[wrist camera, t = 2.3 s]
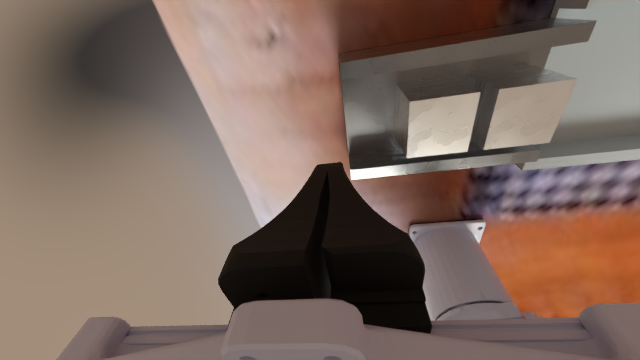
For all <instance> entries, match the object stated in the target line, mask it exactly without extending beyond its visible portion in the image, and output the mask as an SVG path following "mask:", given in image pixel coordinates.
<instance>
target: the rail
mask: <svg viewBox="0 0 640 360" xmlns="http://www.w3.org/2000/svg"><path fill="white" fill-rule="evenodd" d="M596 22H597V20H581V19H564V18H546V19H540V20H534V21H528V22H522V23H516V24H511V25H505V26H499V27H493V28H487V29H481V30H475V31H470V32H464V33H458V34H452V35H446V36H440V37H434V38H429V39H423V40H417V41H411V42H405V43H399V44H394V45H388V46H382V47H376V48H370V49H364V50H358V51H353V52H347V53H341V54H338V56H339V68H340V78H341V85H342V95H343V104H344V114H345V123H346V133H347V142H348V152H349V162H350V173H351V180H356V179H366V178H376V177H386V176H396V175H406V174H416V173H426V172H436V171H446V170H456V169H466V168H476V167H486V166H497V165H507V164H517V163H527V162H537V160H538V158H539V156H540V153H541V151H542V150H541V149H540V148H538V147H537V146H536V145H524V146H515V147H506V148H497V149H487V150H483V149H482V148H481V147H480V146H479V145H478V144H477V143H476V142H475V141H474V140H473V139H472V138H470V143H469V147H468V152H460V153H450V154H441V155H432V156H423V157H413V158H406V156H405V154H404V152H403V149H402V147H401V145H400V143H399V141H398V139H397V137H396V135H395V115H396V84H401V83H408V82H415V81H421V80H428V79H435V78H441V77H448V76H455V77H456V78H458V79H460V80H462V81H463V82H465V83H467V78H468V73H475V72H482V71H488V70H495V69H502V68H509V67H515V66H522V65H529V64H531V65H534V66H538V67H541V68H544V67H545V65H546V62H547V59H548V56H549V53H550V50H551V48H552V47H556V46H562V45H569V44H575V43H581V42H588V41H589V38H590V36H591V34H592V31H593V29H594V27H595V24H596Z"/></svg>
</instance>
